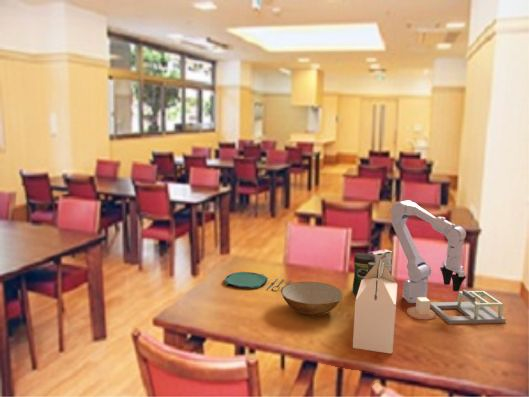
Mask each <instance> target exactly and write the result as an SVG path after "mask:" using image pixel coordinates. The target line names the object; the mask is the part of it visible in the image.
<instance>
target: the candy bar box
mask: <svg viewBox="0 0 529 397" xmlns="http://www.w3.org/2000/svg"><path fill="white" fill-rule="evenodd" d="M367 254H372V255H375V260H376V263H377V264H378V263H379V259H380V257H381V264H383V263H384V261H385V260H386V261H385V266H386V267H387V269H388V270H389V272H390V274H391V275H392V266H393V250H389V249H388V248H387V249H386V248H385V249H378V250H372V251H368V252H367Z"/></svg>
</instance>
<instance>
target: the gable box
mask: <svg viewBox="0 0 529 397" xmlns="http://www.w3.org/2000/svg"><path fill="white" fill-rule="evenodd" d="M385 261H386V260H385ZM385 261H384V263H383V264H381V257H380V259H379V263H378V264H375V265H374V266H373V267H372V269H371V270H370V271H369V272H368V273H367V275H366V276H365V277H364V278H363V279H362V280H361V283H360V287H359V290H358V293H357V295H356V297H355V301H354V302H355V303H354V304H355V306H354V316H353V317H354V318H353V333H352V335H353V337H352V349H356V350H357V349H359V350H365V351H371V352H375V353H376V352H378V353H385V354H390V355H391V354H393V351H394V350H393V349H394V339H395V338H394V335H395V325H396V324H395V322H396V310H397V296H398V283H397V282H396V280H395V279H394V277H393V275H392V273H391V274H390V272H389V270H388V269H387V267H386V266H385Z"/></svg>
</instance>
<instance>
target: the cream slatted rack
mask: <svg viewBox="0 0 529 397" xmlns="http://www.w3.org/2000/svg"><path fill="white" fill-rule="evenodd" d="M485 297H486V298H487V299H489V300H490V301H492V302H489V301H487V300H486V299H485ZM462 298H464V299H465V300H466V301H467V302H471V303H472V304H473V305H475V311H474V316H475V317H478V310H479V307H498V308H497V309H498V310H497V313H498V316H502V317H503V308H504V303H502V302H501V301H499V300H498V299H496V298H495V297H494V296H492V295H491V294H489V293H487V292H486V291H484V290H470V291H469V290H466V289H462V290H461V291H460V290H459V291H458V295H457V302H458V304H461V302H462ZM476 299H477V301H478V300H479V301H480V303H477V302H476Z"/></svg>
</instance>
